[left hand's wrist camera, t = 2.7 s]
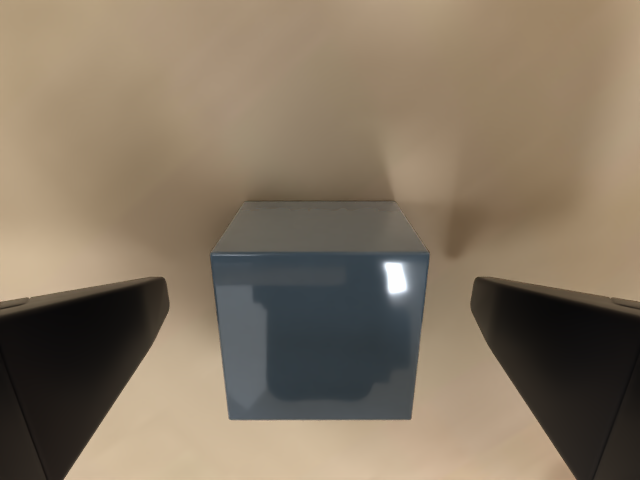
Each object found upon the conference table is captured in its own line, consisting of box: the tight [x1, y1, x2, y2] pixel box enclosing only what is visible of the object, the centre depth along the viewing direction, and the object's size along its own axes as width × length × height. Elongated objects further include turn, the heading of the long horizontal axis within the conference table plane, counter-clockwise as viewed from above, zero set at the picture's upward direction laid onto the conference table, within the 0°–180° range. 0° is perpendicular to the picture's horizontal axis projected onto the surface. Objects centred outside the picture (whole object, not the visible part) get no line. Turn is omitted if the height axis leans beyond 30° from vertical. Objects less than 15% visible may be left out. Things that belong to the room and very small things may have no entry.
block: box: [210, 201, 430, 420], centre depth 11 cm, size 5×5×4 cm
